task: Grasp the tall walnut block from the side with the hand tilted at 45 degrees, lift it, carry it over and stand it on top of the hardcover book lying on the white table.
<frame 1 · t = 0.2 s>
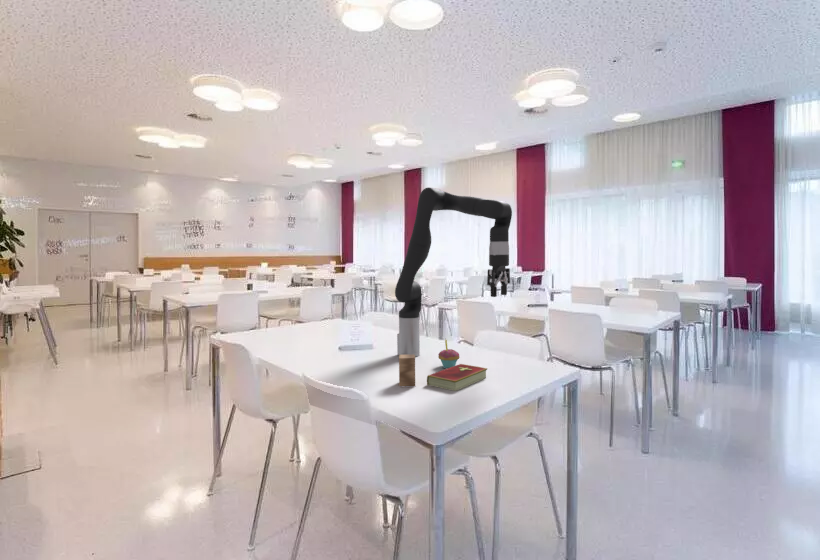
hand: (498, 295, 175), 29 cm above the table, tool pointing down, fingers open, 8 cm apart
cupcake: (448, 367, 183), on the table
block: (407, 384, 159), on the table
hardcover book: (457, 383, 163), on the table
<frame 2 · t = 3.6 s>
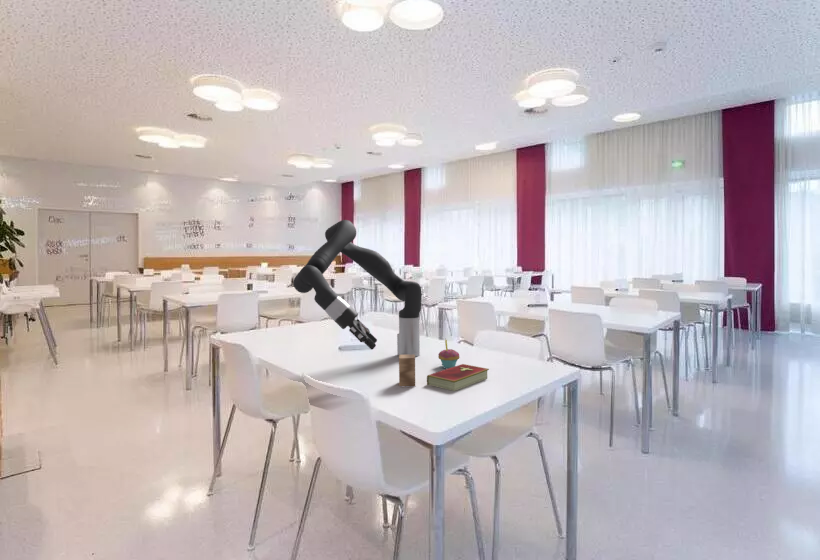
hand: (374, 345, 158), 14 cm above the table, tool tilted 45°, fingers open, 8 cm apart
nothing on the table moved.
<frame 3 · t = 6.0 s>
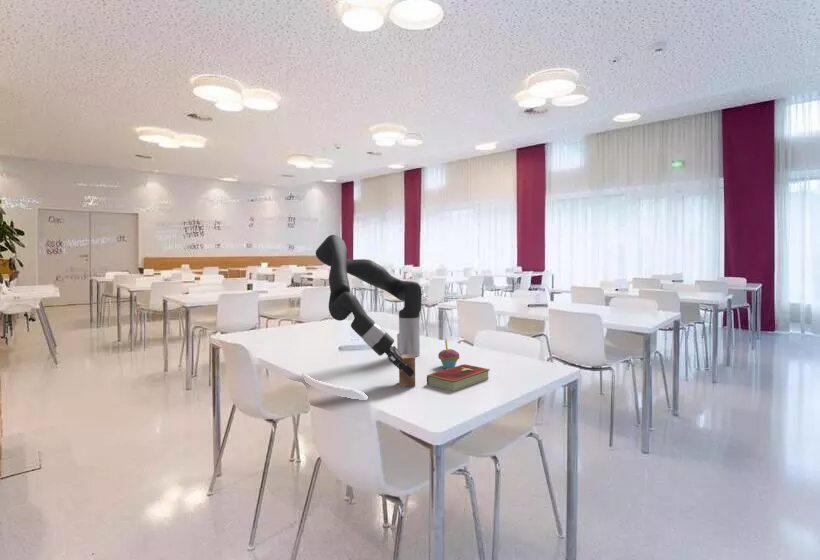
hand: (412, 372, 159), 4 cm above the table, tool tilted 45°, fingers closed on block, 5 cm apart
block: (407, 384, 159), on the table, touching gripper
everything else where it was.
when the fingers open (9 cm above the table, at t = 11.2 s): block drops 1 cm, point 4 cm above the table.
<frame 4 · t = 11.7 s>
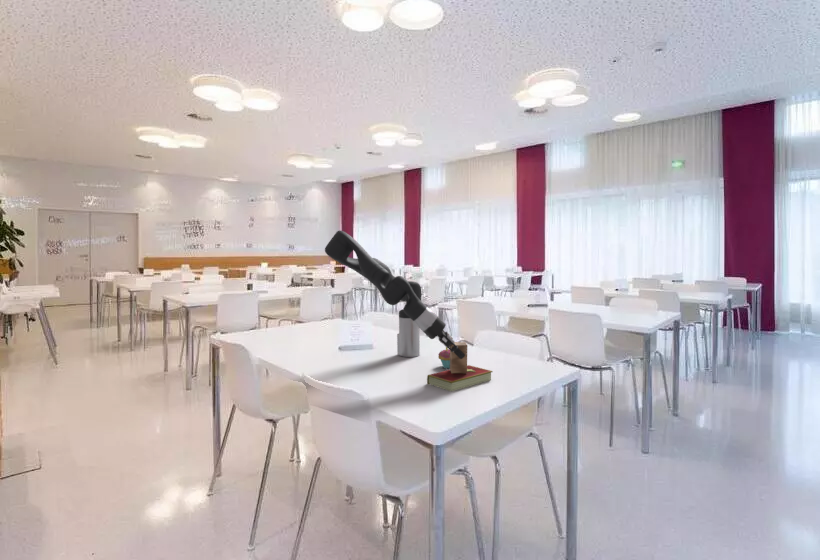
hand: (461, 354, 162), 10 cm above the table, tool tilted 45°, fingers open, 8 cm apart
block: (458, 371, 162), point 4 cm above the table
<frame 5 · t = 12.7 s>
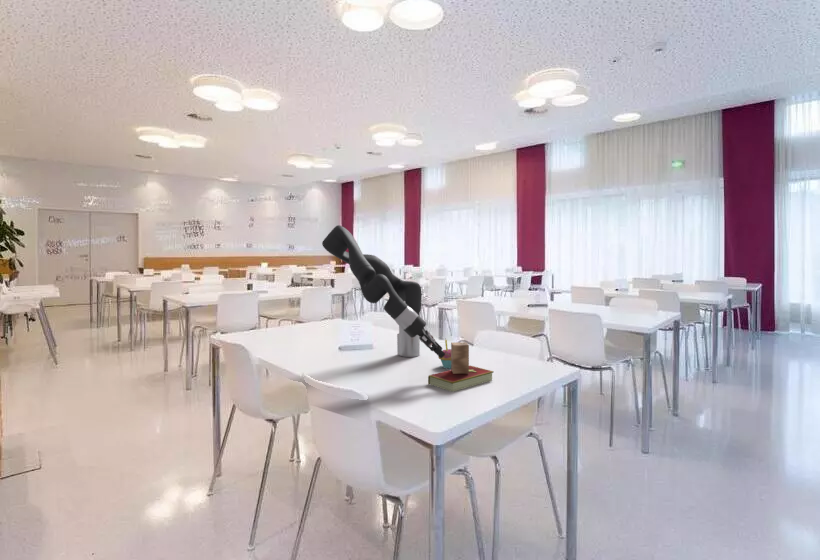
hand: (441, 353, 162), 10 cm above the table, tool tilted 45°, fingers open, 8 cm apart
block: (459, 371, 162), point 4 cm above the table, touching hardcover book
hardcover book: (461, 384, 161), on the table, touching block
everything else where it was.
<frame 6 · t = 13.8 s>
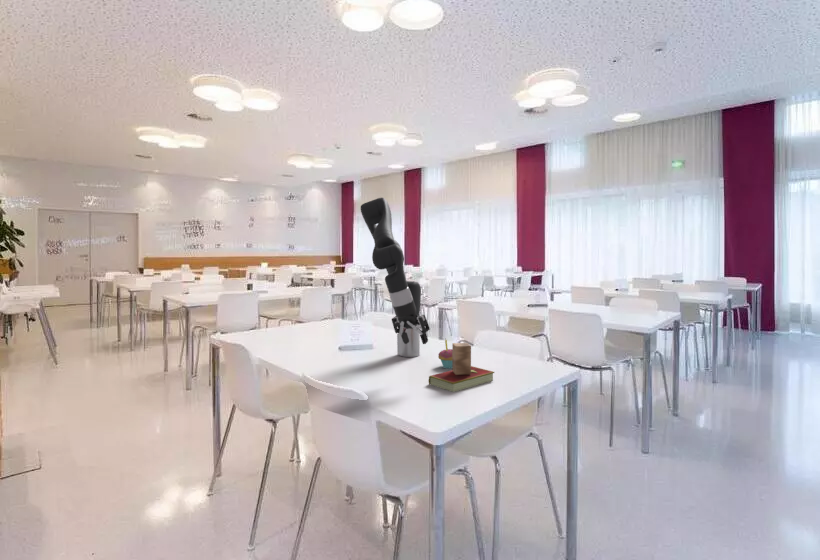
hand: (416, 343, 162), 14 cm above the table, tool tilted 20°, fingers open, 8 cm apart
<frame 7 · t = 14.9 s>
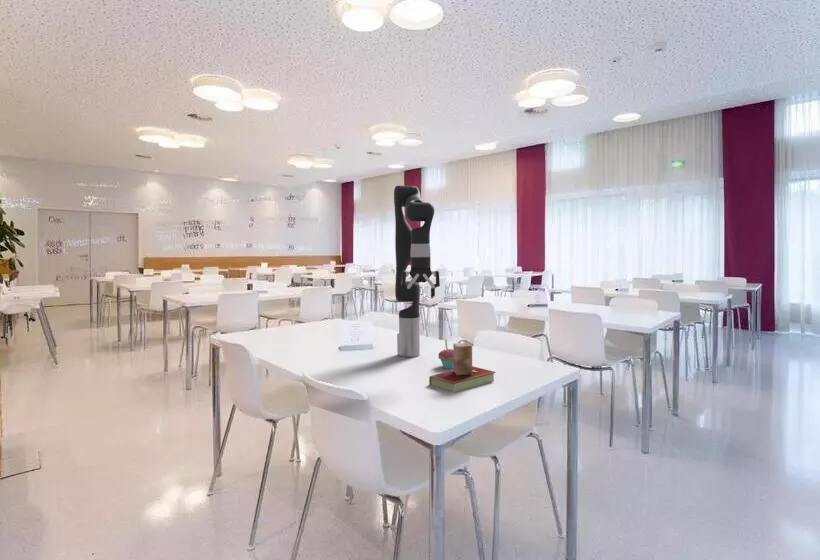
hand: (420, 298, 174), 29 cm above the table, tool pointing down, fingers open, 8 cm apart
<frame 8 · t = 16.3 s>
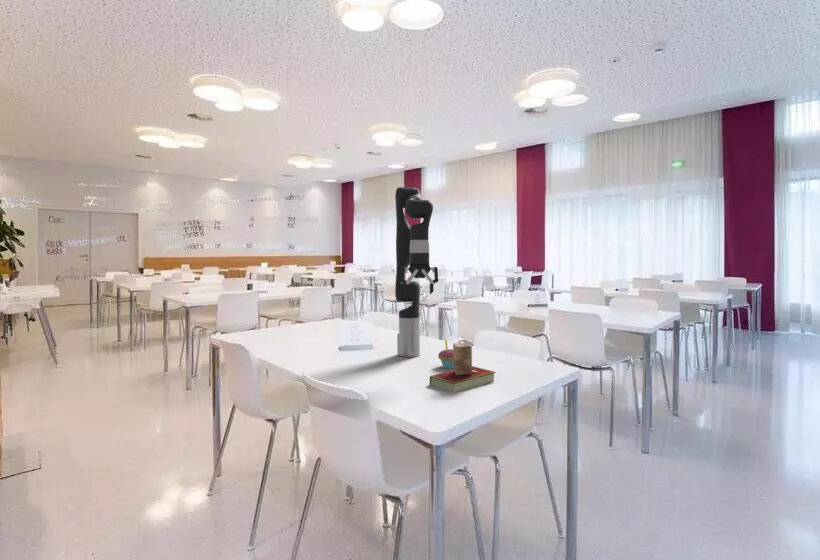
hand: (419, 293, 176), 30 cm above the table, tool pointing down, fingers open, 8 cm apart
at the end: block inside the target area on the hardcover book (0.3 cm from its centre), point 4.4 cm above the hardcover book's base; block tilted 0°; the gripper is holding nothing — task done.
